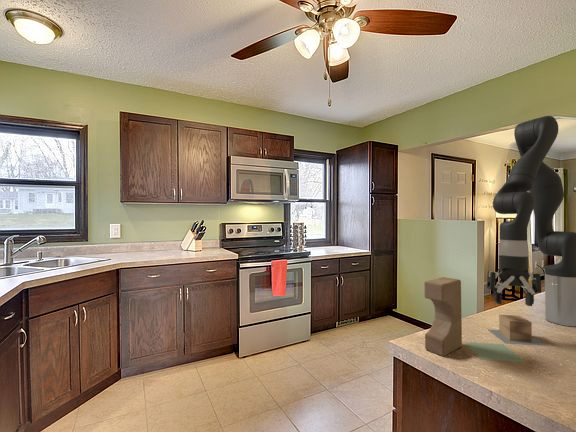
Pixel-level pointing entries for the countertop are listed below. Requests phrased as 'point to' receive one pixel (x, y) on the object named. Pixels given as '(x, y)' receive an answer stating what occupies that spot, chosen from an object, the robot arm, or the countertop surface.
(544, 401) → the countertop surface
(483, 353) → the mat
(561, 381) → the countertop surface
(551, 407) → the countertop surface
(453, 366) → the countertop surface
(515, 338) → the walnut block
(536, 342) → the tile
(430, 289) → the decorative block
